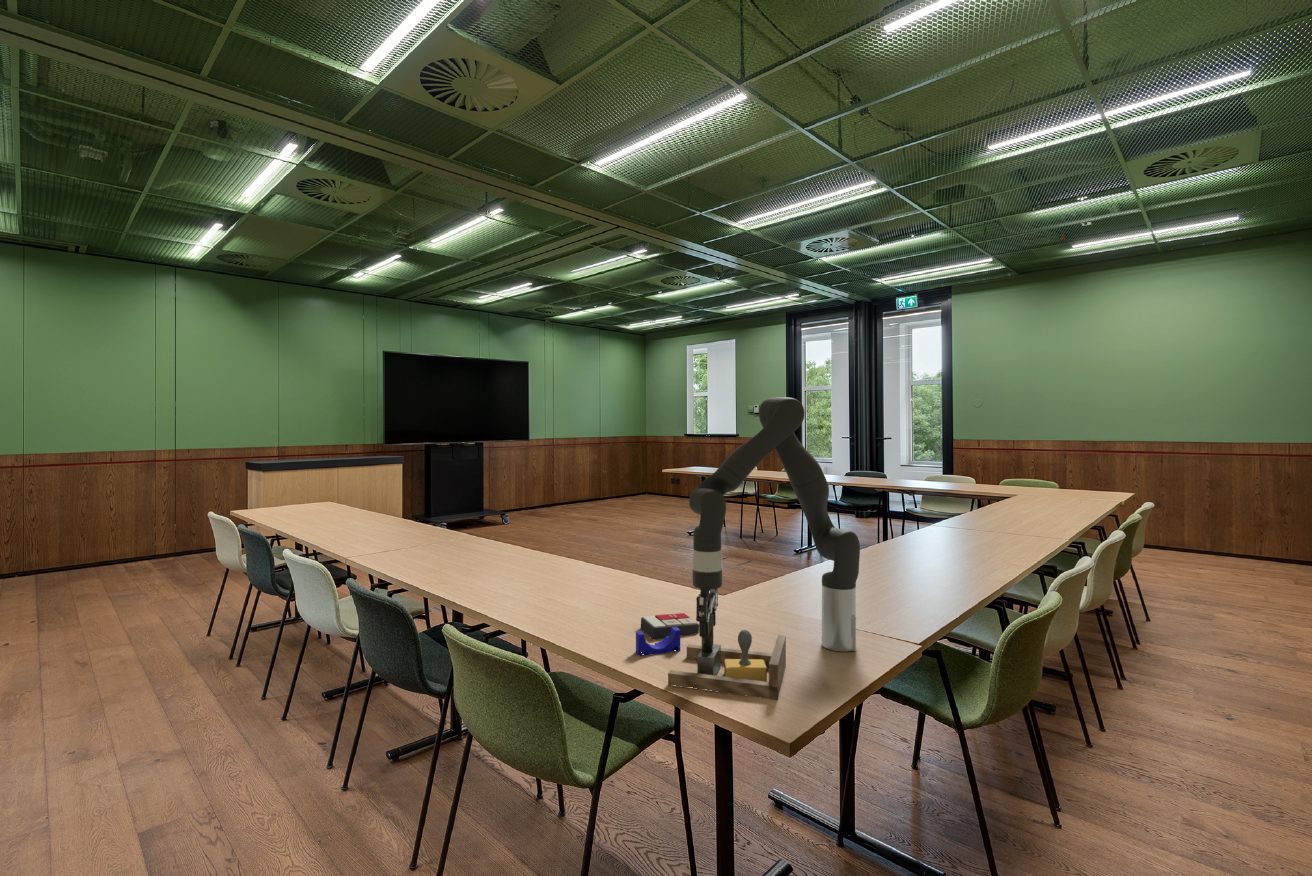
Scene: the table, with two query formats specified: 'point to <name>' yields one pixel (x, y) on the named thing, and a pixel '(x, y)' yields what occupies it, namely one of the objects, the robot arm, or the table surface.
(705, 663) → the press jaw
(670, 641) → the blue pipe saddle
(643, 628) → the calculator
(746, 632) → the rubber stamp
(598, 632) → the table surface
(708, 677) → the frame
